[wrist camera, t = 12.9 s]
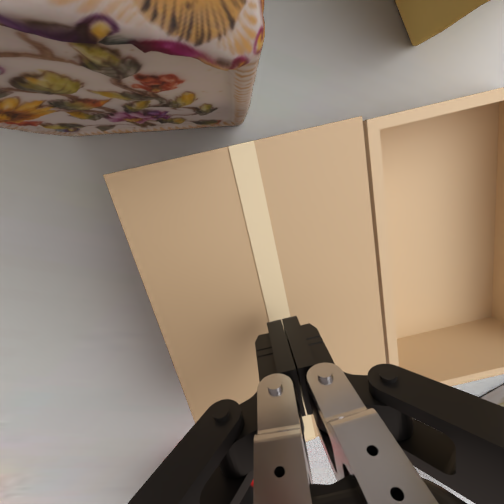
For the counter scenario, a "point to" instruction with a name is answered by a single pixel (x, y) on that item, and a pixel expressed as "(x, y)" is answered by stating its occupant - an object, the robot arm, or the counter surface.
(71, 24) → the decorative jar
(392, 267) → the mailer box
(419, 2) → the cheese
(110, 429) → the counter surface
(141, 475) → the counter surface
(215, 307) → the lid
